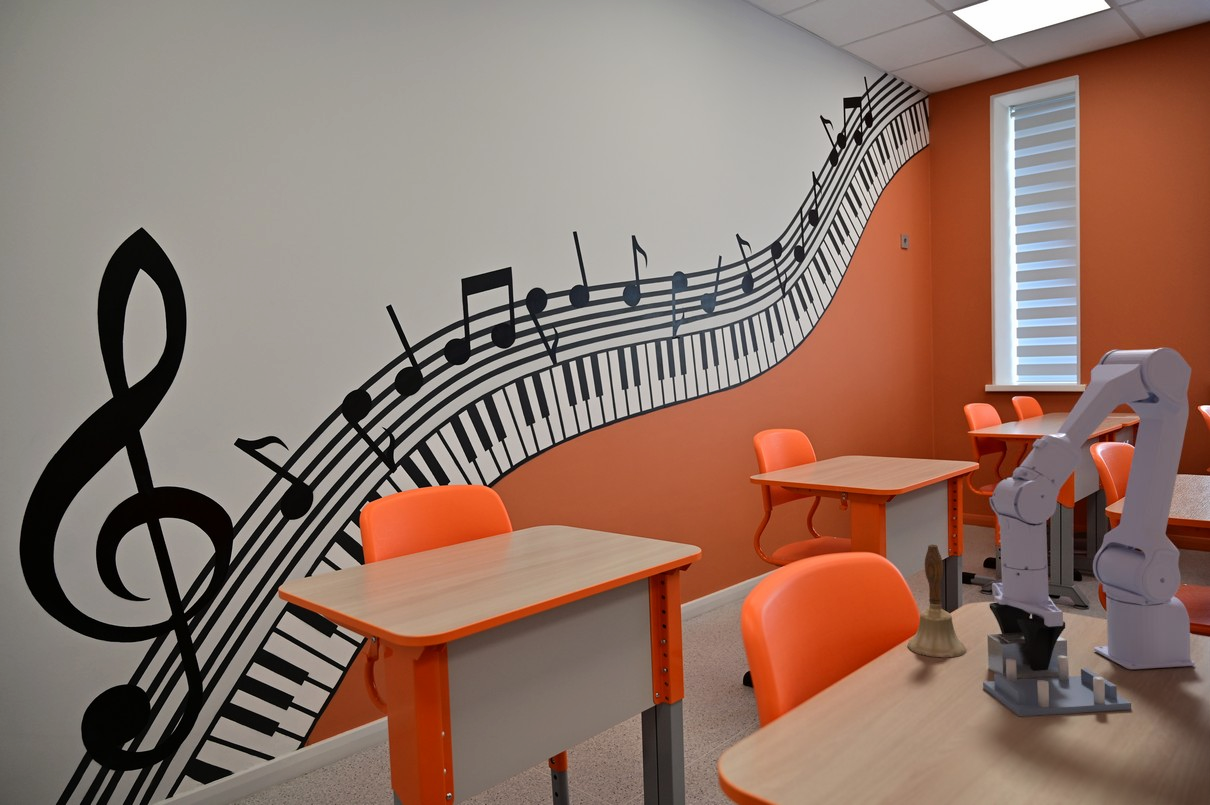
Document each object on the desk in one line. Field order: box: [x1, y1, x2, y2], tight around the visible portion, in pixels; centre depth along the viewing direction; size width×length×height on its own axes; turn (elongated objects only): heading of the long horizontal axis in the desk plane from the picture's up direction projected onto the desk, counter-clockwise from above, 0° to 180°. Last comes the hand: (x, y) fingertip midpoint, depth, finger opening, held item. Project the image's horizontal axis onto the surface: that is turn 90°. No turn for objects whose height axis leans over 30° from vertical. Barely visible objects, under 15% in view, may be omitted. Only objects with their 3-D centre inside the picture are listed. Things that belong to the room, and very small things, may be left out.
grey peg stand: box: [982, 655, 1132, 717], centre depth 104 cm, size 14×9×4 cm, turn 92°
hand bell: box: [907, 544, 967, 659], centre depth 124 cm, size 8×8×16 cm
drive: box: [987, 633, 1068, 679], centre depth 113 cm, size 9×4×5 cm, turn 92°
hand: (1027, 661), depth 113 cm, fingers open, 5 cm apart
